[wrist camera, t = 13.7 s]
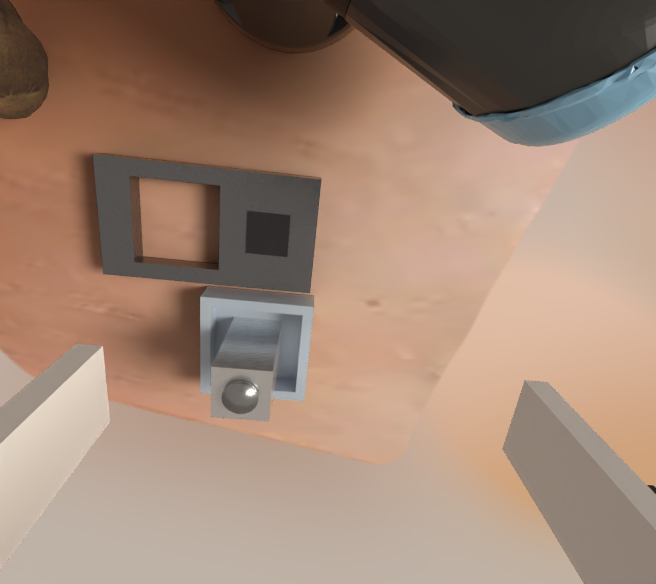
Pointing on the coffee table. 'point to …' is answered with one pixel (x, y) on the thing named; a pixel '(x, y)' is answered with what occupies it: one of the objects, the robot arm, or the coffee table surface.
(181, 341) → the coffee table surface
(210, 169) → the grey slotted plate
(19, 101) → the sculpture
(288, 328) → the tray
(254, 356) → the knob block
